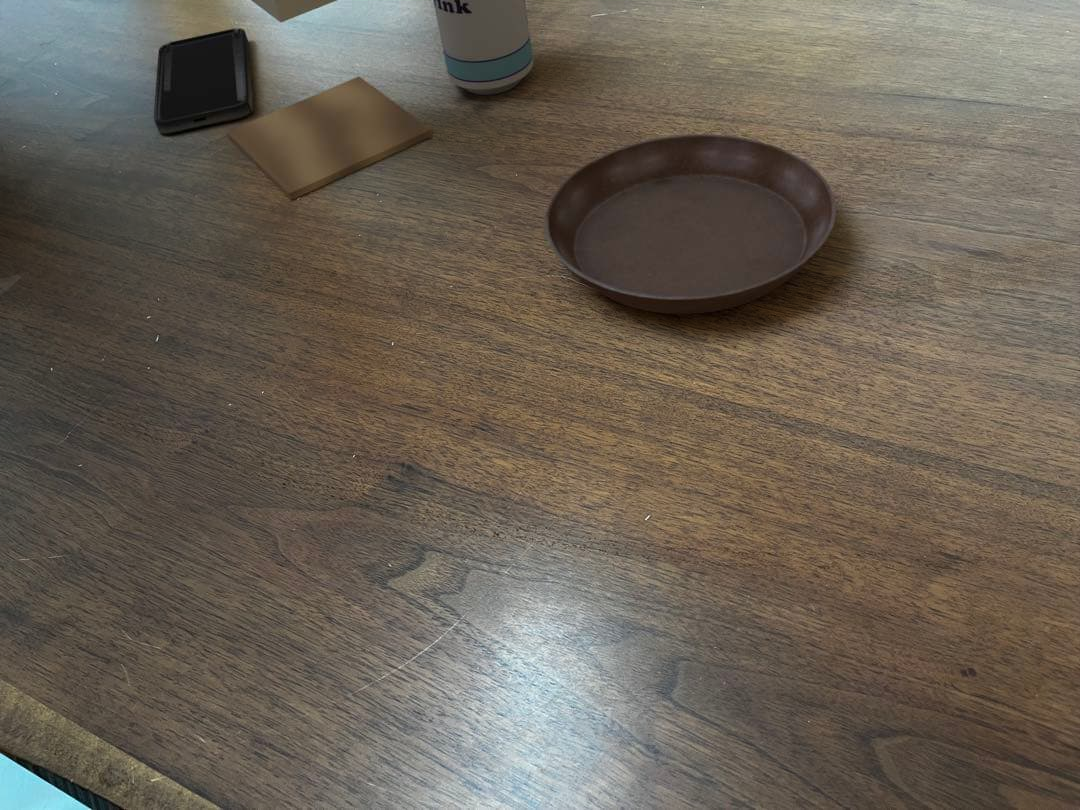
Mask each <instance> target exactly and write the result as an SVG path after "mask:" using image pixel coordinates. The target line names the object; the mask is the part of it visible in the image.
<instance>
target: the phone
mask: <svg viewBox="0 0 1080 810" xmlns="http://www.w3.org/2000/svg"><path fill="white" fill-rule="evenodd" d="M155 79H156V80H155V92H154V93H155V95H154V104H153V105H154V106H153V122H154V124H155V126H156V128H157V130H158V133H160V134H162V135H173V134H178V133H181V132H186V131H191V130H196V129H200V128H204V127H208V126H209V127H210V126H214V125H219V124H222V123H223V124H224V123H227V122H231V121H237V120H240V119H244V118H246V117H249V115H251V114H252V112H253V111H254V103H253V89H252V87H253V85H252V72H251V56H250V41H249V39H248V36H247V32H246V30H245V29H243V28H239V27H235V28H229V29H226V30H221V31H215V32H212V33H206V34H203V35H197V36H192V37H188V38H183V39H179V40H174V41H170V42H167V43H164V44H163V45H161V46H160V47H159V48H158V55H157V67H156V78H155Z"/></svg>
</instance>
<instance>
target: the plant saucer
mask: <svg viewBox="0 0 1080 810" xmlns="http://www.w3.org/2000/svg"><path fill="white" fill-rule="evenodd" d="M836 215H837V205H836V198H835V196H834V192H833V190H832V188H831V186H830V185H829V183H828V181H827V180H826V178H825V177H824V176H823V175H822V173H820V172H819V171H818V170H817V169H816V168H814V167H813V166H812V165H811V164H810V163H809V162H807V161H805V160H804V159H803V158H801V157H799V156H798V155H796V154H794V153H792V152H790V151H788V150H786V149H783V148H781V147H779V146H776V145H773V144H770V143H765V142H764V141H760V140H757V139H756V140H755V139H751V138H747V137H741V136H735V135H727V134H726V135H723V134H710V133H708V134H707V133H706V134H705V133H704V134H703V133H701V134H697V133H695V134H680V135H679V134H678V135H670V136H661V137H656V138H652V139H647V140H644V141H639V142H634V143H632V144H629V145H628V144H627V145H625V146H622V147H619V148H616V149H614V150H611V151H608V152H607V153H604V154H602V155H600V156H599V157H596V158H595V159H592V160H591V161H590V162H587V163H585V164H584V165H582V166H581V167H580V168H578V169H577V170H575V172H573V173H571V175H569V176H568V177H567V178H566V179H565V180H564V181H563V182H562V183H561V184H560V185H559V187H558V188H557V189H556V191H555V192H554V193H553V195H552V196H551V198H550V200H549V201H548V205H547V207H546V210H545V214H544V232H545V237H546V240H547V243H548V245H549V247H550V249H551V250H552V252H553V254H554V255H555V256H556V258H557V259H558V260H559V261H560V262H561V263H562V264H563V266H564V267H565V268H566V269H567V270H568V271H569V272H570V273H571V274H572V275H574V277H576V278H577V279H578V280H579V281H581V282H582V283H583V284H585V285H587V286H588V287H589V288H591V289H593V290H594V291H596V292H597V293H599V294H601V295H603V296H605V297H607V298H609V299H610V300H613V301H614V302H617V303H619V304H622V305H623V306H627V307H629V308H630V307H631V308H634V309H638V310H642V311H647V312H653V313H659V314H671V315H694V314H705V313H712V312H717V311H723V310H728V309H731V308H735V307H738V306H741V305H744V304H747V303H750V302H753V301H755V300H757V299H759V298H762V297H764V296H765V295H767V294H769V293H770V292H773V291H774V290H776V289H777V288H778V287H780V286H781V285H783V284H785V283H786V282H787V281H788V280H790V279H792V278H793V277H794V276H795V275H796V274H797V273H798V272H799V271H801V270H802V269H803V268H804V267H805V266H806V265H807V264H808V263H809V262H810V261H811V260H812V258H813V257H815V255H816V254H817V253H818V252H819V251H820V249H821V248H822V247H823V245H824V244H825V243H826V241H827V240H828V238H829V236H830V235H831V232H832V231H833V228H834V225H835V222H836Z"/></svg>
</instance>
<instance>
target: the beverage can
mask: <svg viewBox="0 0 1080 810" xmlns="http://www.w3.org/2000/svg"><path fill="white" fill-rule="evenodd" d="M432 3H433V7H434V11H435V17H436V22H437V26H438V31H439V38H440V41H441V47H442V51H443V57H444V62H445V66H446V71H447V77H448V78H449V81H450V82H451V83H453V84H454V85H455V86H457V87H459V88H463V89H465V90H466V91H468V92H470V93H471V94H476V95H481V96H482V95H483V96H485V95H496V94H500V93H504V92H507V91H509V90H510V89H513V88H514V87H516V86H517V85H518V84H519V83H520V82H521V81H522V79H523V78H525V77H526V76H527V75H528V74H530V72H531V71H532V69H533V67H534V55H533V49H532V41H531V34H530V27H529V19H528V13H527V12H528V11H527V6H526V0H432Z"/></svg>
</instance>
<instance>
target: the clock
mask: <svg viewBox="0 0 1080 810" xmlns="http://www.w3.org/2000/svg"><path fill="white" fill-rule="evenodd" d="M250 1H251V2H252V3H254V4H255V5H257V6H258V7H259V8H260V9H262V10H263V11H264V12H266V13H267V14H269V15H270V16H271V17H272V18H273V19H275V20H277V21H278V22H280V23H284V22H286V21H288V20H291V19H294V18H296V17H299V16H301V15H304V14H306V13H309V12H312V11H314V10H316V9H319V8H322V7H324V6H326V5H329V4H332V3H334V2H337V1H338V0H250Z"/></svg>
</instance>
